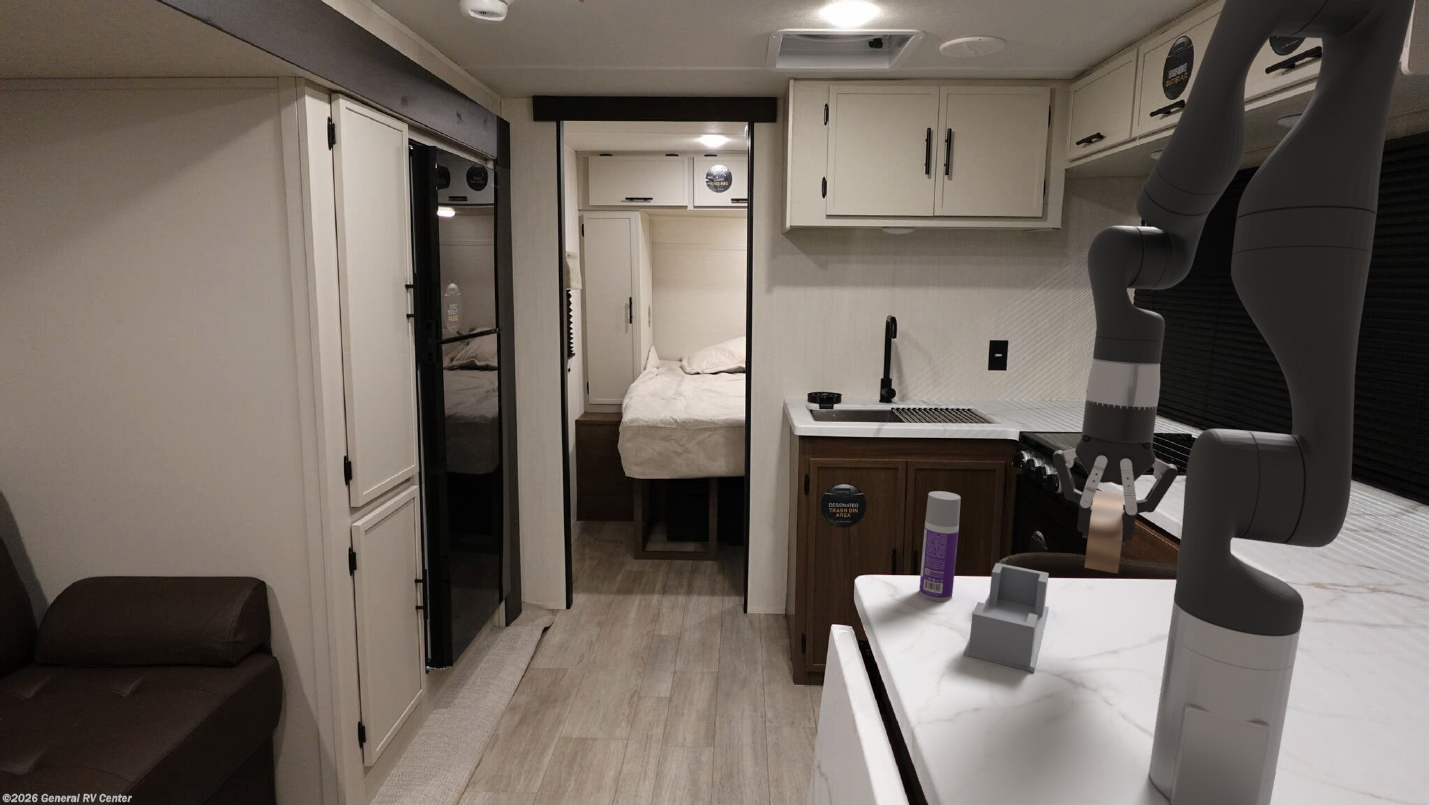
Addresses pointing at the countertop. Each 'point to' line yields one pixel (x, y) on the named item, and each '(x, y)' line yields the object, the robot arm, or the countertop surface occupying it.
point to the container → (940, 546)
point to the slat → (1105, 532)
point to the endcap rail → (1010, 618)
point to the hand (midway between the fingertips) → (1104, 538)
